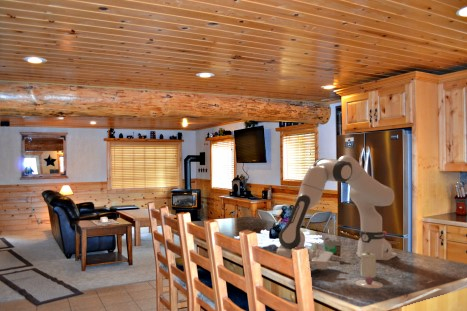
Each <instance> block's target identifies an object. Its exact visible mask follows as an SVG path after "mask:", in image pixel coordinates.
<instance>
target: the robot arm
mask: <svg viewBox="0 0 467 311" xmlns="http://www.w3.org/2000/svg"><path fill="white" fill-rule="evenodd" d="M362 166H363V165H361V164H360V163H359V161H357V160H356V159H355V158H354V157H352V156H351V155H349V154H345V155H342V156H340V157H339V158H338V159H334V158H319V159H317V160H315V161H314V163H313V164H312V166H311V167H309V168H308V169H307V171H306V173H305V175H304V177H303V179H302V181H301V184H300V187H299V191H298V194H297V197H296V201H295V204H294V206H293V209H292V210H291V213H290V215H289V218H288V221H287V222H286V224H285V226H283V228H282V229H281V230H280V232H279V234H278V241H279V244H280V245H279V247H278V248H276V251H275V255H276V254H279V255H283V256H286V257H291V249H292V248H295V247H299V246H301V247H303V248H304V246H305V241H306V237H305V234H304V232H303V231H302V225H303V223H304V221H305V218H306V215H307V213H308V211H309V210H310V209H312V208H313V207H315V206H316V205H318V204H319V203H320V202H319V201H320V200H321V197H322V196H323V194H324V190H325V186H326V183H327V182H337V183H344V182H346V183H347V185H348V186H350V191H349V197H350V200H351V201H352V202H353V203H354V204H355V206H356V208H357V210H358V212H359V218H360V230H359V237H360V238H359V239H358V245H357V251H356V252H355V253H356V255H357V257H358V258H359V259H361V253H366V251H370V253H373V254H375V257H376V261H389V260H391V259H393V258H395V257H397V253H396V252H393V251H392V250H393V249H392V244H391V243H390V242H389V241H388V240H387V239H385V236H386V235H388V234H387V233H388V232H387V231H385V230H383V216H382V215H381V214H380V213H379V212H378V211H377V210H376V207H387V206H388V207H389V206H391V205H392V204H393V203H394V200H395V193H394V190H393V189H392V188H391V187H389V186H387V185H385V184H382V183H381V182H379V181H378V180H377V179H375V178H374V177H372V176H371V175H370V174H369V173H368V172H367V171H366V170H365V169H364V167H362ZM375 206H376V207H375ZM307 249H308V254H309V261H310V268H311V269H312V270H313V269H317V270H328V269H329V267H330V268H331V267H339V266H341V265H340V263H341V262H342V261H343V257H342V256H340V257H338V256H334V255H333V253H332V252H328V251H325V250H322V249H321V250H320V249H317V248H307Z"/></svg>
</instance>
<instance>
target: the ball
mask: <svg viewBox="0 0 467 311" xmlns="http://www.w3.org/2000/svg"><path fill="white" fill-rule="evenodd" d="M364 280H365V281H366V283H367V284H371V283H372V282H373V281H374V280H373V278H371V277H366V278H365V279H364Z"/></svg>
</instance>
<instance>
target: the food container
mask: <svg viewBox="0 0 467 311" xmlns="http://www.w3.org/2000/svg"><path fill="white" fill-rule="evenodd" d="M322 243H323V244H324V251H328V252H332V253H333V255H334V256H338V257H341V253H342V252H341V251H342V246H343V245H342V241H338V240H337V241H336V240H334V239H330V237H324V239H323V242H322Z"/></svg>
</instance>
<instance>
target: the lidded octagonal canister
mask: <svg viewBox="0 0 467 311" xmlns="http://www.w3.org/2000/svg"><path fill="white" fill-rule="evenodd" d="M376 263H377V260H376V257H375V254H373V253H370V251H366V253H361V258H360V276H361V277H362V278H365V279H366V277H371V278H372V279H373V278H376V277H377V270H376V268H377V266H376V265H377V264H376Z"/></svg>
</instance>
